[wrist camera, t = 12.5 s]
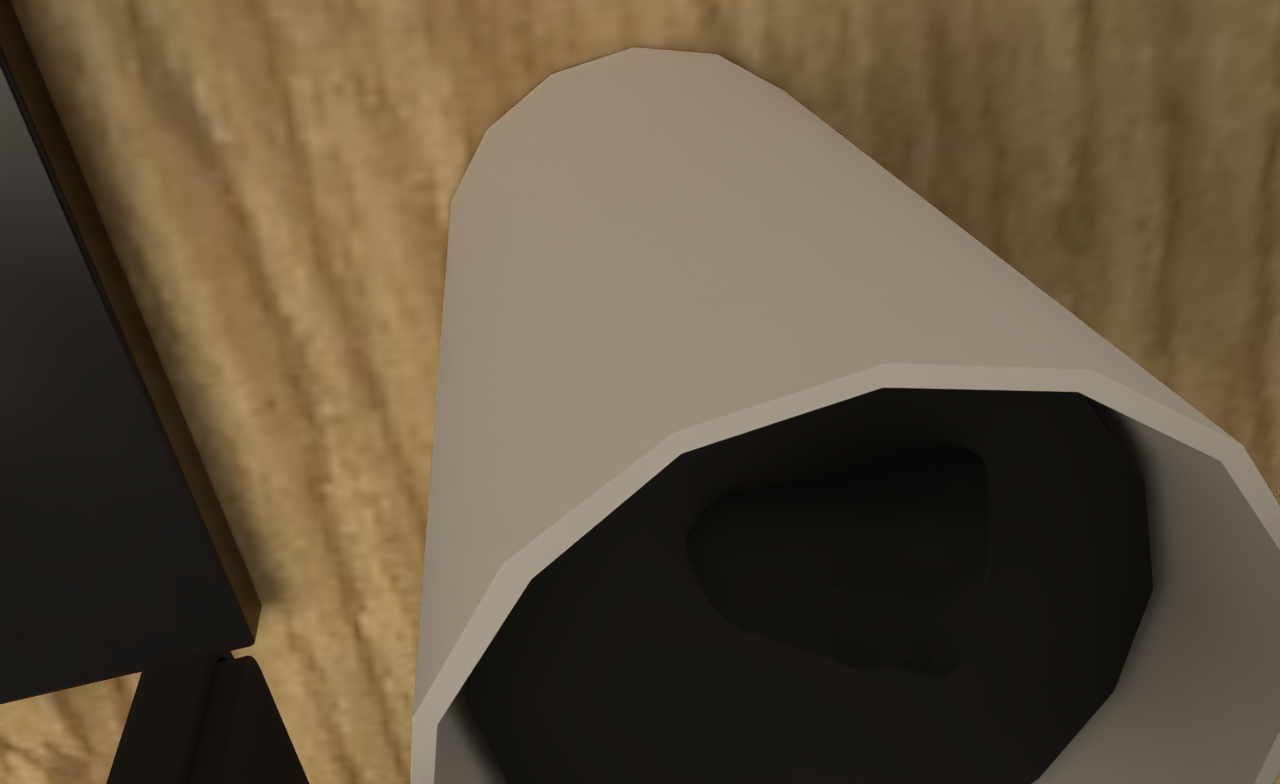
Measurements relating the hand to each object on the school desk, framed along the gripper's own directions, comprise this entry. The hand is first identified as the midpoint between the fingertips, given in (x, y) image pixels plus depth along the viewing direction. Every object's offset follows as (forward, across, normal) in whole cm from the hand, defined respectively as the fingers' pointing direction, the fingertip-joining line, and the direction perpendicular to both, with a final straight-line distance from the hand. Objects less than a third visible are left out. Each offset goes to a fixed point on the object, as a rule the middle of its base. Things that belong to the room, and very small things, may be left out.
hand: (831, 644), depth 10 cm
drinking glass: (+8, 0, 0) cm, 9 cm away
